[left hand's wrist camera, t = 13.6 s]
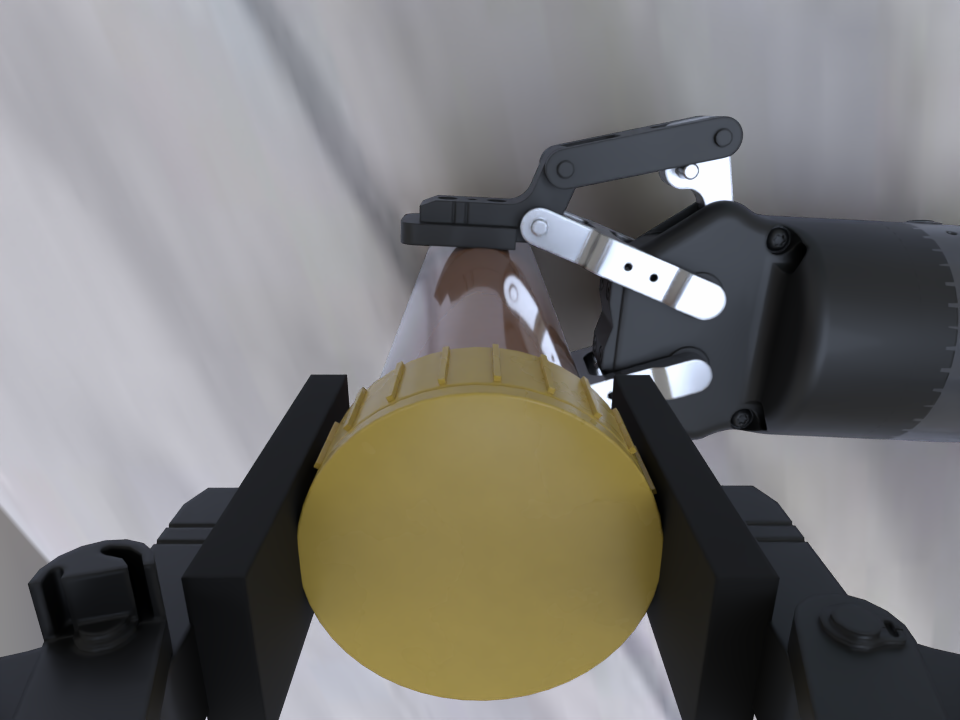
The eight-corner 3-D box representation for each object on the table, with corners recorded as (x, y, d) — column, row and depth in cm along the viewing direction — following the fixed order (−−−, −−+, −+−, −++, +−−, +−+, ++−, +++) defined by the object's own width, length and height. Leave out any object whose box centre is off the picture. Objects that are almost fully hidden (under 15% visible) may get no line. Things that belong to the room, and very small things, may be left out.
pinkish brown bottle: (553, 238, 28) (677, 454, 11) (512, 340, 30) (560, 678, 12) (444, 198, 28) (381, 356, 10) (409, 304, 29) (300, 604, 12)
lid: (348, 307, 11) (320, 348, 9) (684, 383, 11) (724, 437, 10) (299, 588, 13) (268, 670, 11) (588, 642, 13) (605, 730, 12)
